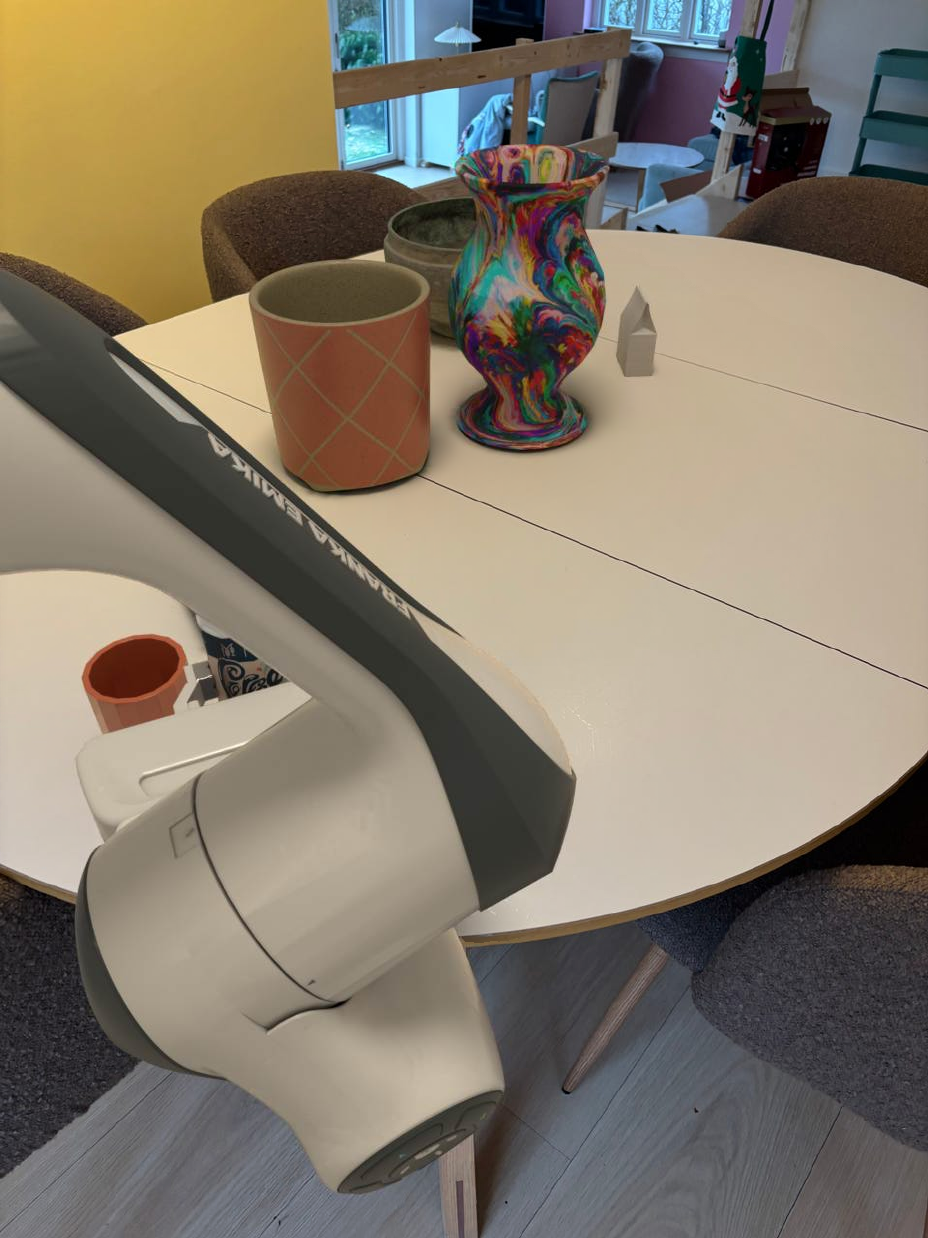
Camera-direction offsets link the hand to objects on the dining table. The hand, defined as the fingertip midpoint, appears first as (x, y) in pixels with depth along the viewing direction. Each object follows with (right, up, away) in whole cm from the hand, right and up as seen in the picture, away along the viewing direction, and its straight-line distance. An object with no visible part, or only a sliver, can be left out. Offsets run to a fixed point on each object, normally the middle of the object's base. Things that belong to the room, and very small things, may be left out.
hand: (247, 657), depth 54 cm
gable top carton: (+37, +38, +72) cm, 89 cm away
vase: (+20, +27, +60) cm, 69 cm away
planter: (0, +22, +53) cm, 57 cm away
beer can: (0, -6, +4) cm, 7 cm away
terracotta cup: (-11, -8, +18) cm, 23 cm away
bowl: (+15, +48, +84) cm, 98 cm away
